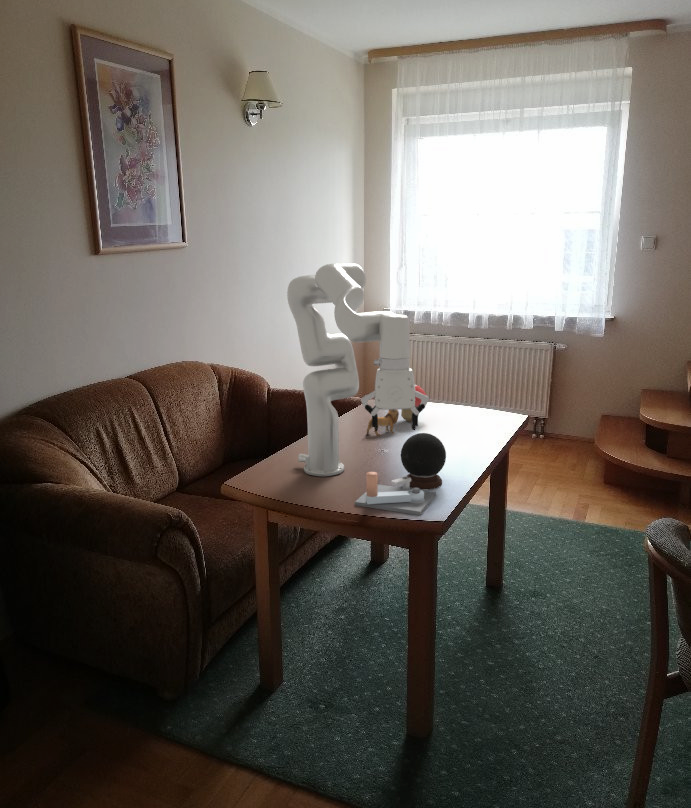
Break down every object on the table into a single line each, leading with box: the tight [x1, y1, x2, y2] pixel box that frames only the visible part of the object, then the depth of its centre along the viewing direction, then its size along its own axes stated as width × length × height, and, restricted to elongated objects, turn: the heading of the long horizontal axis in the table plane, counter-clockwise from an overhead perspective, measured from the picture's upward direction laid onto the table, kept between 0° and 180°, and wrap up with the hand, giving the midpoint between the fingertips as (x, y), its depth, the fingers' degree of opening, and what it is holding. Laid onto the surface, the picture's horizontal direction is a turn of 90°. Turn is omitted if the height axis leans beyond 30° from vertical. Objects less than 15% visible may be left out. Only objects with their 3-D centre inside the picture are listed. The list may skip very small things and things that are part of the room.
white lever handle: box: [365, 471, 425, 504], centre depth 182 cm, size 16×4×8 cm, turn 96°
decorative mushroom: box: [400, 384, 427, 423], centre depth 263 cm, size 13×13×15 cm
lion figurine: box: [365, 409, 400, 437], centre depth 248 cm, size 15×5×9 cm, turn 125°
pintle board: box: [354, 475, 437, 516], centre depth 186 cm, size 18×14×5 cm
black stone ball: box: [400, 432, 447, 490], centre depth 198 cm, size 13×13×15 cm
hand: (394, 429), depth 174 cm, fingers open, 9 cm apart
